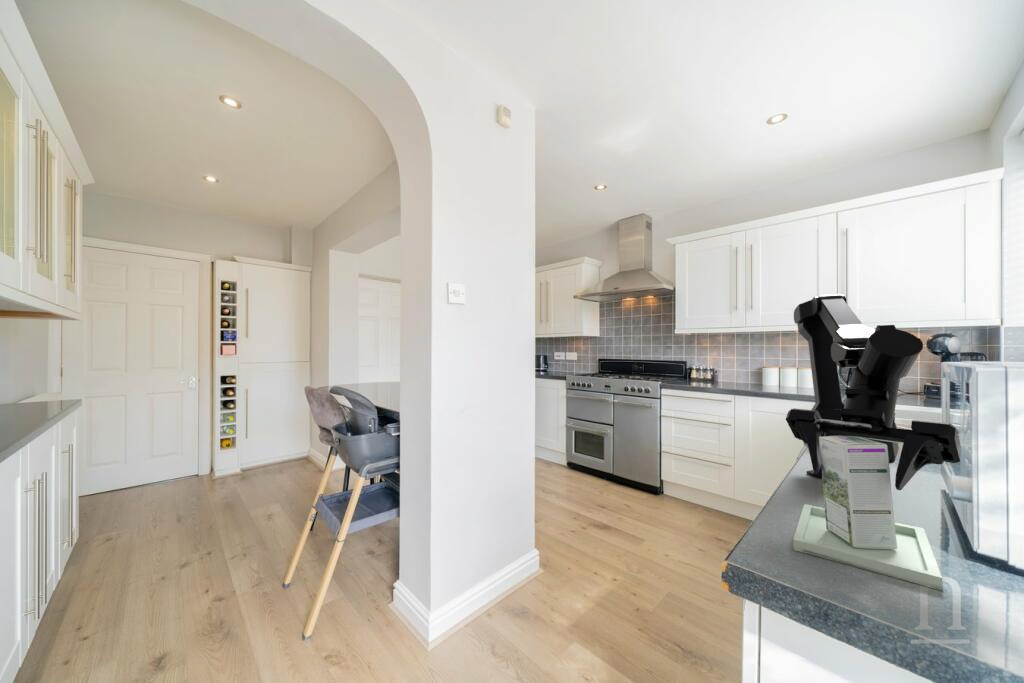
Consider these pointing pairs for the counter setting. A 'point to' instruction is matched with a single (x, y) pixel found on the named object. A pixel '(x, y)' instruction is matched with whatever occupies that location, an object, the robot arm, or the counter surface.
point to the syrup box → (858, 491)
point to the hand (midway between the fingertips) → (853, 479)
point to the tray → (871, 550)
